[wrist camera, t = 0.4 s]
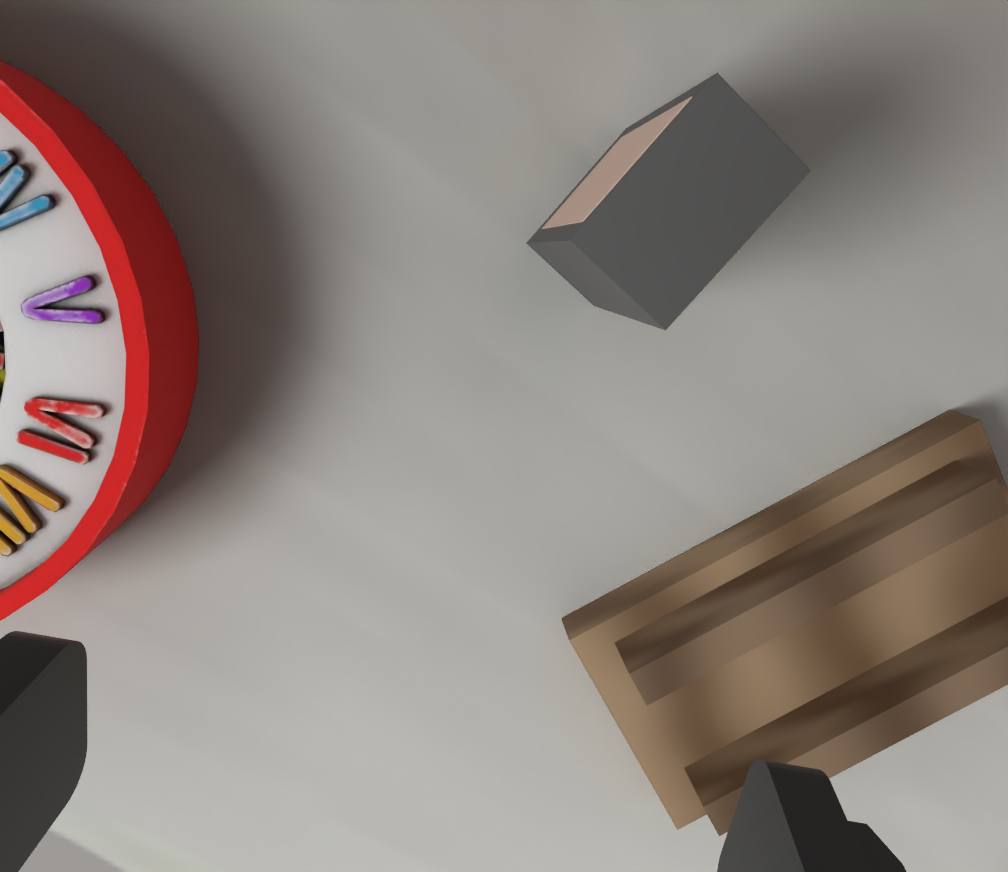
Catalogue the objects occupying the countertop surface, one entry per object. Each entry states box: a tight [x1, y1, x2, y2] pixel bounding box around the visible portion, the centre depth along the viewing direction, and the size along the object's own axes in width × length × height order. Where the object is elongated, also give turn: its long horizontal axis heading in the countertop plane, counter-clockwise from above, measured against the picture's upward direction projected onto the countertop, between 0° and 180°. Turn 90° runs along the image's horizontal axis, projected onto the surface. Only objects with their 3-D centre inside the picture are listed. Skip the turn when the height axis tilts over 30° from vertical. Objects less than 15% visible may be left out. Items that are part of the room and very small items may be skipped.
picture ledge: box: [561, 410, 1008, 836], centre depth 34 cm, size 18×10×4 cm, turn 118°
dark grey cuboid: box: [527, 73, 810, 330], centre depth 27 cm, size 6×4×10 cm, turn 138°
